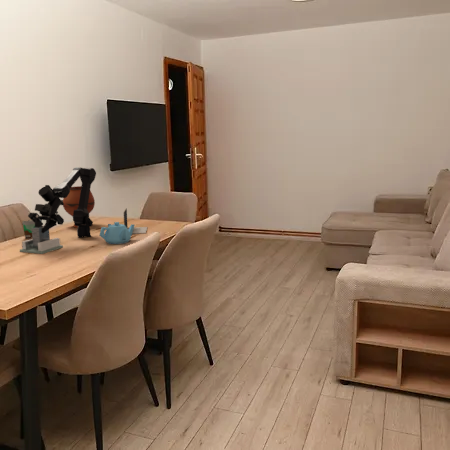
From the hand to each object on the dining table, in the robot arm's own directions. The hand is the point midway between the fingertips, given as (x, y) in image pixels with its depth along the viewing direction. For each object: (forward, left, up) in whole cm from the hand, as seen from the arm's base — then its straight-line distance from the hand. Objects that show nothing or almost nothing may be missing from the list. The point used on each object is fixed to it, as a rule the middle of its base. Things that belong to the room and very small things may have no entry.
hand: (38, 232), depth 238 cm
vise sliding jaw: (+4, -5, -8) cm, 10 cm away
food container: (+1, -37, -9) cm, 38 cm away
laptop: (-55, -28, -10) cm, 63 cm away
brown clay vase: (-26, -58, -9) cm, 65 cm away
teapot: (-40, -3, -9) cm, 41 cm away
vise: (-1, -1, -9) cm, 9 cm away
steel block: (-1, -1, -7) cm, 7 cm away
